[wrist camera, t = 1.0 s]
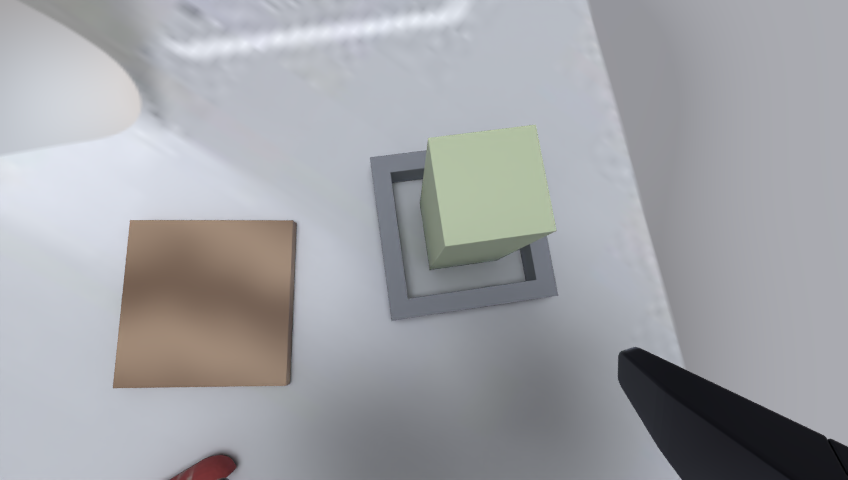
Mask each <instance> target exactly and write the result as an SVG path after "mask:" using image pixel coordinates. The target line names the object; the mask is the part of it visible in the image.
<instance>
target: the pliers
mask: <svg viewBox="0 0 848 480" xmlns="http://www.w3.org/2000/svg"><path fill="white" fill-rule="evenodd" d="M235 469H236V465H235V463H234V461H233V460H232V459H231V458H230V457H228V456H224V455H215V456H211V457H208V458H206V459H203V460H202V461H200V462H198V463H197V464H195V465H193V466H192V467H190V468H188V469H187V470H185V471H183V472H182V473H180V474H178V475H177V476H175V477H173V478H172V479H170V480H217V479H220V478H226V477H227V476H228V475H230V474H231V473H232V472H233V471H234V470H235Z"/></svg>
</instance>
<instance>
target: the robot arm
mask: <svg viewBox="0 0 848 480" xmlns="http://www.w3.org/2000/svg"><path fill="white" fill-rule="evenodd" d="M618 380H619V383H620V385H621V387H622V389H623V390H624V392H625V394H626V395H627V397H628V399H629V400H630V402H631V404H632V405H633V407H634V409H635V410H636V412H637V414H638V415H639V417H640V419H641V420H642V422H643V423H644V425H645V427H646V428H647V430H648V432H649V433H650V435H651V437H652V438H653V440H654V441H655V443H656V445H657V446H658V448H659V449H660V451H661V452H662V453H663V455H664V456H665V458H666V459H667V460H668V462H669V463H670V464H671V466H672V467H673V468H674V470H675V471H676V472H677V474H678V475H679V476H680V478H681V479H682V480H848V447H847V446H845V445H843V444H841V443H839V442H837V441H835V440H833V439H827V438H826V437H825V436H824V435H822V434H820V433H817V432H815V431H813V430H811V429H809V428H807V427H805V426H803V425H801V424H799V423H797V422H794V421H792V420H790V419H788V418H786V417H784V416H782V415H780V414H778V413H775V412H773V411H771V410H769V409H767V408H765V407H763V406H761V405H759V404H757V403H754V402H752V401H750V400H748V399H746V398H744V397H742V396H740V395H738V394H736V393H733V392H731V391H729V390H727V389H725V388H723V387H721V386H719V385H716V384H714V383H712V382H710V381H708V380H706V379H704V378H702V377H700V376H698V375H696V374H693V373H691V372H689V371H687V370H685V369H683V368H681V367H679V366H677V365H674V364H672V363H670V362H668V361H666V360H664V359H662V358H660V357H658V356H656V355H653V354H651V353H649V352H647V351H645V350H643V349H641V348H637V347H633V348H630V349H627V350H624V351H621V352H620V353H619V356H618ZM217 480H229V479H227V478H220V479H217Z"/></svg>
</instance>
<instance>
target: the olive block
mask: <svg viewBox="0 0 848 480" xmlns="http://www.w3.org/2000/svg"><path fill="white" fill-rule="evenodd" d="M420 208H421V214H422V221H423V228H424V234H425V241H426V248H427V255H428V261H429V268H430V270H432V269H439V268H446V267H453V266H460V265H467V264H474V263H481V262H488V261H495V260H498V259H500V258H502V257H504V256H506V255H508V254H510V253H512V252H514V251H516V250H518V249H520V248H523V247H525V246H527V245H529V244H531V243H533V242H535V241H537V240H539V239H541V238H543V237H545V236H547V235H549V234H551V233H553V232H555V231H556V226H555V221H554V216H553V211H552V205H551V200H550V195H549V190H548V185H547V180H546V175H545V170H544V165H543V160H542V154H541V149H540V144H539V139H538V134H537V129H536V125H529V126H521V127H513V128H505V129H497V130H489V131H481V132H473V133H465V134H457V135H449V136H441V137H433V138H428V144H427V152H426V160H425V167H424V175H423V183H422V191H421V199H420Z"/></svg>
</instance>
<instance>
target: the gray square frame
mask: <svg viewBox="0 0 848 480" xmlns="http://www.w3.org/2000/svg"><path fill="white" fill-rule="evenodd" d="M426 152H427V150H425V151H417V152H410V153H402V154H394V155H386V156H378V157H370V162H371V169H372V177H373V184H374V192H375V199H376V207H377V214H378V222H379V229H380V237H381V244H382V252H383V259H384V267H385V274H386V282H387V289H388V297H389V304H390V312H391V319H392V321H393V320H399V319H406V318H413V317H419V316H426V315H432V314H439V313H446V312H452V311H459V310H466V309H472V308H479V307H486V306H492V305H499V304H505V303H512V302H519V301H525V300H532V299H539V298H545V297H552V296H558V292H557V287H556V282H555V277H554V271H553V266H552V261H551V256H550V251H549V245H548V240H547V236H545V237H543V238H541V239H539V240H537V241H535V242H533V243H531V244H529V245H527V246H525V247H523V248H520V250H521V256H522V261H523V267H524V272H525V278H526V281H525V282H518V283H511V284H505V285H498V286H491V287H484V288H477V289H471V290H464V291H457V292H450V293H444V294H437V295H430V296H423V297H417V298H410V299H408V296H407V288H406V281H405V274H404V267H403V260H402V253H401V246H400V238H399V231H398V224H397V217H396V210H395V203H394V196H393V188H392V183H394V182H402V181H409V180H417V179H423V175H424V167H425V160H426Z"/></svg>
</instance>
